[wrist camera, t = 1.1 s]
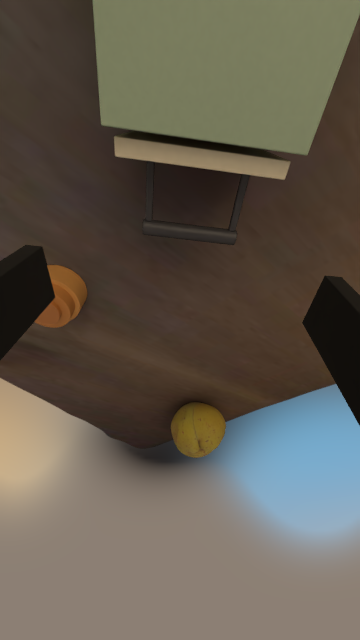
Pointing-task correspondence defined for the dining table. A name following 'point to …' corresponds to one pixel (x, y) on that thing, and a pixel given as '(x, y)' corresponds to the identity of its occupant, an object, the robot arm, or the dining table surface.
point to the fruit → (197, 429)
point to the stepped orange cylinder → (63, 297)
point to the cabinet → (221, 67)
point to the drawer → (198, 157)
